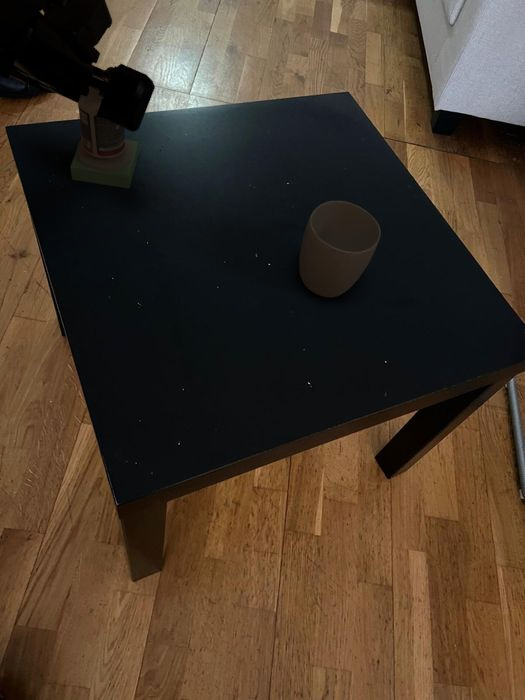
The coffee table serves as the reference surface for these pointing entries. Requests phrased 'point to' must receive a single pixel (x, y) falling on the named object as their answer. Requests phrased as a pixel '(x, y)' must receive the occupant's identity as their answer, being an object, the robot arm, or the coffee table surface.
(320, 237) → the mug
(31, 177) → the coffee table surface
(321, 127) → the coffee table surface
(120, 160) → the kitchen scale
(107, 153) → the pill bottle
